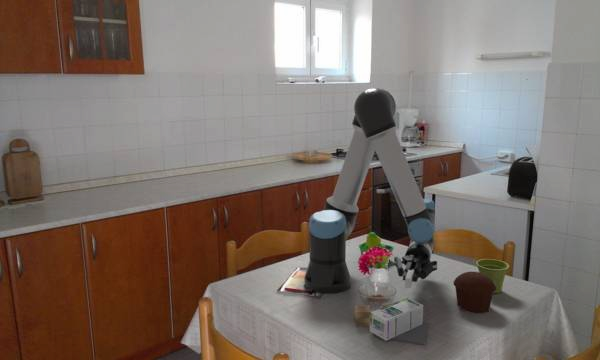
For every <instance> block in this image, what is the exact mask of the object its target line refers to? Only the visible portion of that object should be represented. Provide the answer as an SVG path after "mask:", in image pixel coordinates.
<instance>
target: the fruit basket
mask: <svg viewBox="0 0 600 360" xmlns="http://www.w3.org/2000/svg"><path fill="white" fill-rule="evenodd" d="M381 241H382V239H381V237H380V236H378V235H377V234H376V233H375V232H374V231H371V232H369V233H368V234H367V235H366V241H365V242H363V243H361V244H359V245H358V248H359V250H360V254H362V253H363V252H365V251H367V250H368V249H370V248H372V247H374V246H378V247H382V248H386V249H388V250H389V251H390V252H392V253H393V250H394V249H395V247H394V246H392V245H386V244H384V243H381ZM390 259H391V258H390ZM390 259H389V260H388V261H390Z"/></svg>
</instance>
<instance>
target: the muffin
mask: <svg viewBox="0 0 600 360" xmlns="http://www.w3.org/2000/svg"><path fill="white" fill-rule="evenodd" d="M453 286H454V288H455V293H456V304H457V307H459V308H460V309H461V310H463V311H465V312H468V313H472V314H484V313H488V312H489V310H490V308H491V304H492V299H493V297H494V296H493V295H494V293H493V292H494V291H495V290H496V286H495V284H494V282H493V281H492V279H490V278H489V277H488V276H486V275H484V274H482V273H479V271H465V272H463V273H461V274H459V275H457V277H455V279H454V280H453Z"/></svg>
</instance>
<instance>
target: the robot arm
mask: <svg viewBox="0 0 600 360" xmlns="http://www.w3.org/2000/svg"><path fill="white" fill-rule="evenodd" d="M353 110H354V116H353V118H352V119H353V120H352V123H351V125H352V127H353V129H354V131H353V134H352V136H351V140H350V142H349V143H350V144H349V146H348V150H347V152H346V155H345V158H344V161H343V164H342V167H341V169H340V173H339V176H338V179H337V182H336V185H335V187H334V191H333V192H332V195H331V196H329V197H327V198H326V201H325V204H324V206H323V209H322V210H320V211H317V212H314V213H313V214H311V216H310V217H309V223H308V230H309V231H308V232H309V233H308V236H309V238H308V239H309V241H308V243H309V261H308V265H307V269H306V271H305V274H304V279H303V280H304V283H305V284H304V286H305V285H306V286H307V287H308V288H310V289H312V290H314V291H313V292H316V291H317V292H316V293H321V292H322V293H323V294H334V293H340V292H344V291H346V290H348V289H349V288H350V287H351V284H352V281H351V279H352V278H351V275H350V271H349V269H348V266H347V262H346V246H347V245H346V244H347V243H346V241H347V239H348V238H349V236H350V235H351V233H352V232H353V230H354V228H355V226H356V225H355V224H356V219H357V216H358V214H359V210H360V209H359V207H358V205H357V203H358V201H359V197H360V194H361V192H362V189H363V185H364V183H365V180H366V177H367V175H368V172H369V169H370V166H371V163H372V160H373V157H374V154H376V156H377V158H378V160H379V163H380V165H381V167H382V170H383V171H384V175H385V176H386V177H385V178H386V179H387V182H388V183H389V185H390V188H391V190H392V193H393V195H394V197H395V201H396V202H397V205H398V207H399V209H400V211H401V212H400V213H401V214H402V216H403V219H404V221H405V223H406V226H407V234H408V236H409V239H410V241H409V246H408V247H407V249H406V251H405V254H404V256H402V257H399V256H394V257H393V258H394V259H393V265H394V266H395V267H396V270H397V275H398V277H402V280H403V281H404V288H406V289H411V288H412V285H413V283H416V282H418V280H419V278H420V279H421V280H425V279H426V278H428V277H429V276H430V275H431V273H432V272H435V271H437V270H438V261H436V260H433V261H431V258H432V254H433V251H434V248H435V229H436V228H435V211H436V210H435V209H436V208H435V202H434V200H431V199H429V198H423V196H422V193H421V191H420V189H419V186H418V183H417V181H416V179H415V177H414V174H413V172H412V170H411V167H410V165H409V161H408V160H407V157H406V155H405V152H404V150H403V148H402V146H401V143H400V140H399V138H398V135H397V133H396V129H397V124H396V122H395V119H394V115H395V113H396V100H395V98H394V96H393V95H392V94H391V93H390V92H389V91H387V90H385V89H383V88H378V87H377V88H368V89H366V90H364V91H363V92H361V93H360V94H359V95H358V96H357V98H355V102H354V107H353ZM403 266H405V267H403ZM306 286H305V287H306ZM307 287H306V288H307ZM308 288H307V289H308ZM310 289H309V290H310ZM312 290H311V291H312Z"/></svg>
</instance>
